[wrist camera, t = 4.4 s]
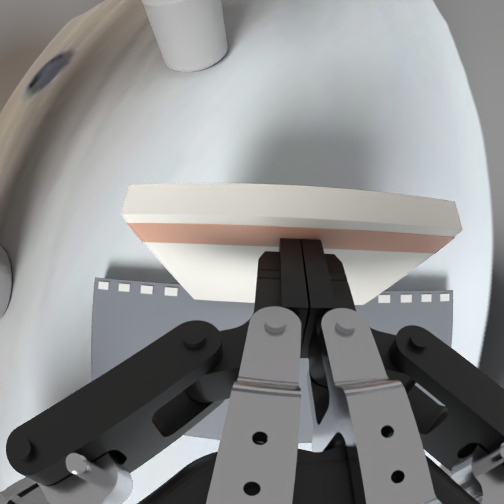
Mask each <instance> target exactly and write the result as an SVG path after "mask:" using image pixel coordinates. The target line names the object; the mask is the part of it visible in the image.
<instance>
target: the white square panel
mask: <svg viewBox="0 0 504 504" xmlns="http://www.w3.org/2000/svg"><path fill="white" fill-rule="evenodd" d="M121 215H122V217H123V218H124V219H125V220H126V222H127V224H128V225H129V226H130V228H131V229H132V230H133V231H134V232H135V234H136V235H137V236H138V237H139V238H140V240H141V241H142V242H144V243H145V244H146V246H147V247H148V248H149V249H150V250H151V252H152V253H153V254H154V255H155V256H156V257H157V258H158V260H159V261H160V262H161V263H162V264H163V265H164V267H165V268H166V269H167V270H168V271H169V272H170V273H171V274H172V276H173V277H174V278H175V279H176V280H177V281H178V282H179V283H180V284H181V286H182V287H183V288H184V289H185V290H186V291H187V292H188V293H189V294H190V295H191V296H192V298H193V299H195V300H210V301H227V302H246V303H255V294H256V282H257V270H258V259H259V258H260V257H261V255H262V254H263V253H264V252H265V251H275V252H279V242H280V238H287V239H300V242H301V239H309V240H321V242H322V246H323V250H324V254H335V256H336V257H337V258H338V259H339V260H340V261H341V262H342V264H343V267H344V270H345V274H346V277H347V282H348V284H349V287H350V290H351V294H352V297H353V301H354V305H364V304H366V303H367V302H369V301H370V300H372V299H373V298H375V297H376V296H377V295H379V294H380V293H382V292H383V291H385V290H386V289H387V288H389V287H390V286H392V285H393V284H394V283H396V282H397V281H399V280H400V279H401V278H403V277H404V276H405V275H407V274H408V273H409V272H411V271H412V270H413V269H415V268H416V267H417V266H419V265H420V264H421V263H423V262H424V261H425V260H427V259H428V258H429V257H430V256H432V255H433V254H434V253H436V252H438V251H439V250H440V249H441V248H443V247H444V246H445V245H446V244H448V243H449V242H450V241H451V240H452V239H454V238H455V236H456V235H457V234H458V233H460V232H461V231H462V226H461V222H460V219H459V215H458V211H457V208H456V204H455V202H453V201H447V200H440V199H433V198H426V197H419V196H411V195H403V194H394V193H385V192H376V191H366V190H355V189H343V188H330V187H315V186H298V185H276V184H243V183H173V184H141V185H129V188H128V192H127V195H126V198H125V202H124V205H123V209H122V212H121Z"/></svg>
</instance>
